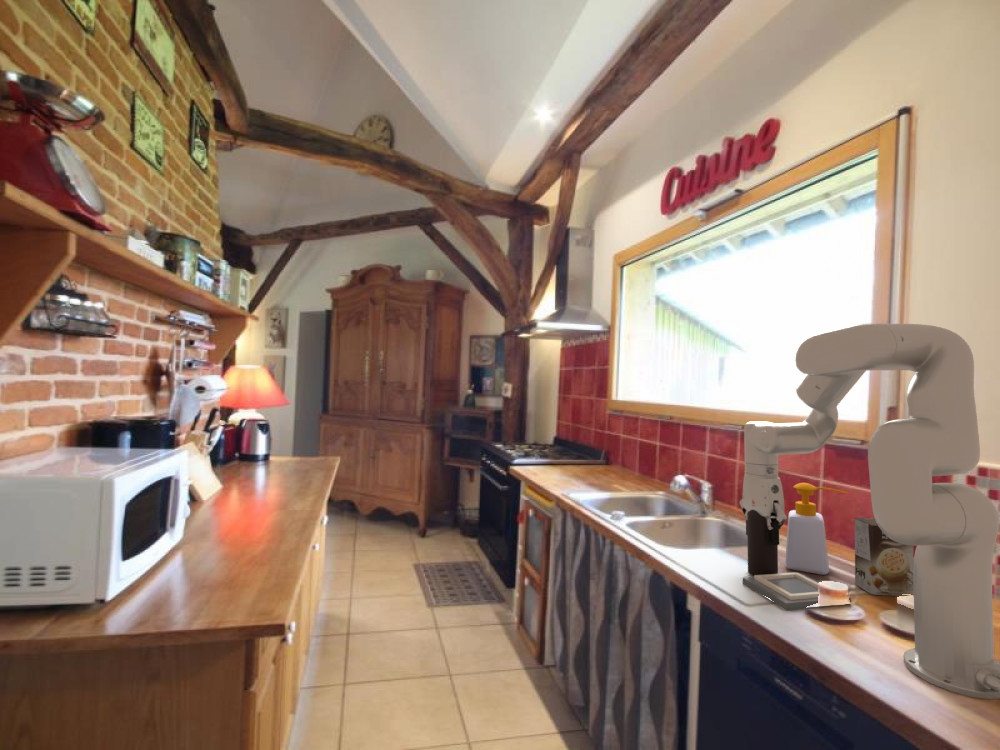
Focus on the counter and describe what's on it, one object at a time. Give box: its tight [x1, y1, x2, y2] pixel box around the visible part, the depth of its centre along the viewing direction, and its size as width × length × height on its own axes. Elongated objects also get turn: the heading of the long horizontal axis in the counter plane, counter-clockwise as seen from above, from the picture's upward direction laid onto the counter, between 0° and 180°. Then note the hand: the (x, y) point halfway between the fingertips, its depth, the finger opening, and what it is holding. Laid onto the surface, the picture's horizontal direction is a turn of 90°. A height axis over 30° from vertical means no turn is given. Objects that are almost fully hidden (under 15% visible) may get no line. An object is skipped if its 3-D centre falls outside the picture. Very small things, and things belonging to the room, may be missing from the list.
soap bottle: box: [784, 482, 848, 575], centre depth 125 cm, size 10×14×22 cm
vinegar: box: [746, 499, 779, 576], centre depth 122 cm, size 7×7×20 cm
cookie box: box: [854, 517, 914, 597], centre depth 112 cm, size 9×6×16 cm
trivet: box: [742, 571, 852, 611], centre depth 110 cm, size 14×16×2 cm
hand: (762, 539), depth 122 cm, fingers closed on vinegar, 6 cm apart
